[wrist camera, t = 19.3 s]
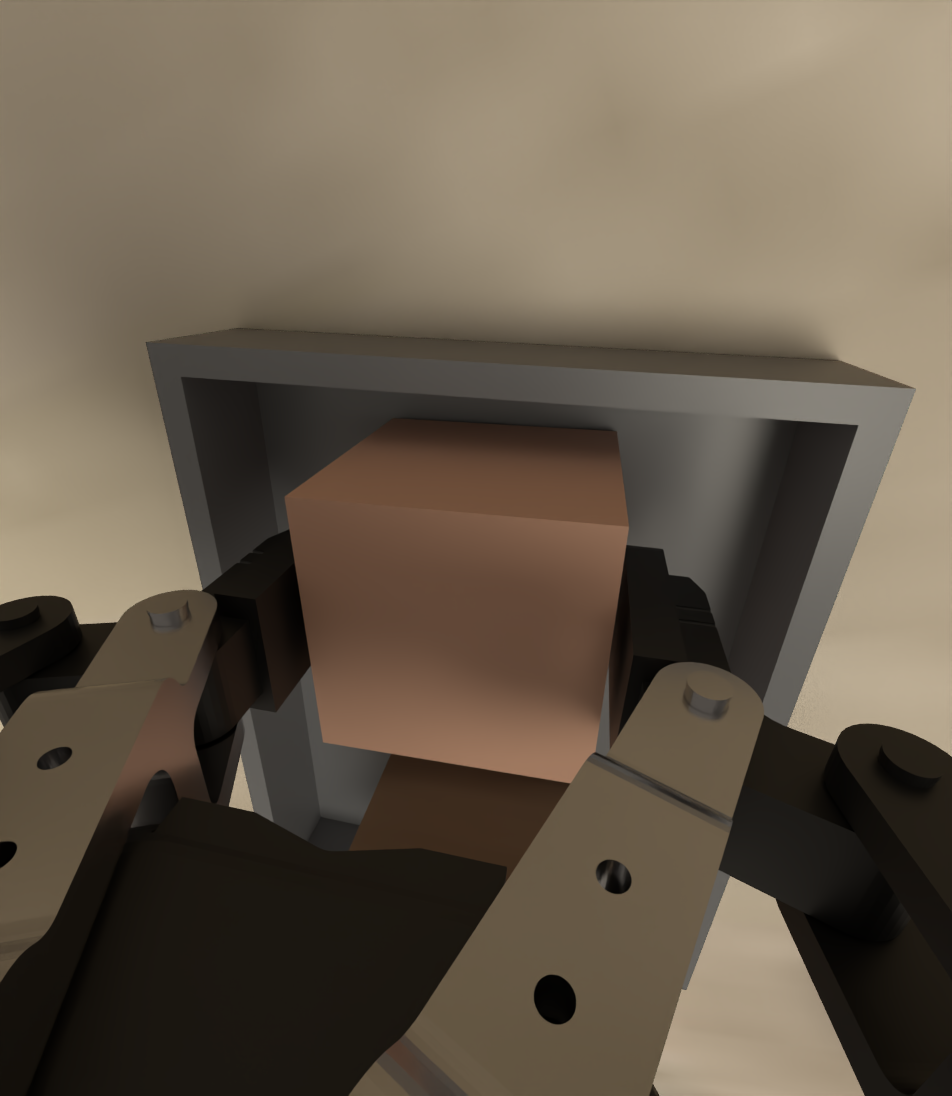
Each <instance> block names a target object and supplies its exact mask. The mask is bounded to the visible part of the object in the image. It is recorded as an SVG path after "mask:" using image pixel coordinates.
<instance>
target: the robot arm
mask: <svg viewBox="0 0 952 1096" xmlns="http://www.w3.org/2000/svg"><path fill="white" fill-rule="evenodd" d="M310 666H311V662H310V656H309V650H308V643H307V637H306V631H305V624H304V618H303V612H302V605H301V599H300V593H299V586H298V580H297V574H296V567H295V561H294V555H293V548H292V542H291V535H290V529H288V530H286V531H284V532H281V533H279V534H277V535H274V536H272V537H269V538H267V539H266V540H265V541H264V542H262V543H261V544H260V545H259V546H257V547H256V548H255V549H254V550H253V552H252V553H249V554H247V555H246V556H245V557H243V558H242V559H241V560H240V563H236V564H235V565H233V566H232V567H231V568H230V569H228V570H227V571H226V572H225V573H223V574H222V575H221V576H220V577H218V578H217V579H216V580H215V581H213V582H212V583H211V584H209V585H208V586H207V587H206V588H204V589H203V590H202V591H197V590H178V591H171V592H165V593H162V594H158V595H155V596H152V597H149V598H147V599H144V600H142V601H140V602H138V603H137V604H135V605H133V606H132V607H130V608H129V609H128V610H127V611H126V612H125V613H124V614H123V615H122V616H121V618H120V619H119V621H118V622H115V623H97V624H79V623H78V620H77V617H76V614H75V612H74V609H73V606H72V604H71V602H70V601H69V600H67V599H65V598H62V597H58V596H35V597H28V598H23V599H18V600H14V601H11V602H7V603H4V604H1V605H0V720H1V722H2V724H3V726H4V728H3V729H2V731H1V732H0V1096H659V1094H658V1092H657V1090H656V1088H655V1087H654V1085H653V1081H654V1078H655V1075H656V1072H657V1068H658V1065H659V1062H660V1058H661V1055H662V1052H663V1049H664V1045H665V1042H666V1039H667V1036H668V1032H669V1029H670V1026H671V1023H672V1019H673V1016H674V1013H675V1010H676V1006H677V1003H678V1000H679V997H680V993H681V990H682V987H683V983H684V980H685V977H686V974H687V970H688V967H689V964H690V961H691V957H692V954H693V951H694V948H695V944H696V941H697V938H698V935H699V931H700V928H701V925H702V922H703V918H704V915H705V912H706V908H707V905H708V902H709V899H710V895H711V892H712V889H713V886H714V882H715V879H716V876H717V873H718V870H720V871H722V872H724V873H726V874H728V875H730V876H732V877H734V878H736V879H738V880H740V881H742V882H744V883H746V884H748V885H750V886H752V887H754V888H756V889H758V890H760V891H762V892H764V893H766V894H768V895H770V896H772V897H774V898H776V901H777V904H778V907H779V909H780V911H781V914H782V916H783V918H784V920H785V922H786V924H787V927H788V929H789V931H790V933H791V935H792V938H793V940H794V942H795V944H796V946H797V948H798V951H799V953H800V955H801V957H802V959H803V962H804V964H805V966H806V968H807V970H808V973H809V975H810V977H811V979H812V981H813V983H814V986H815V988H816V990H817V992H818V994H819V997H820V999H821V1001H822V1003H823V1005H824V1007H825V1010H826V1012H827V1014H828V1016H829V1018H830V1021H831V1023H832V1025H833V1027H834V1029H835V1032H836V1034H837V1036H838V1038H839V1040H840V1042H841V1045H842V1047H843V1049H844V1051H845V1053H846V1056H847V1058H848V1060H849V1062H850V1064H851V1066H852V1069H853V1071H854V1073H855V1075H856V1077H857V1080H858V1082H859V1084H860V1086H861V1088H862V1091H863V1093H864V1095H865V1096H952V757H951V756H950V755H949V754H947V753H946V752H944V751H943V750H941V749H940V748H938V747H937V746H935V745H933V744H931V743H930V742H928V741H926V740H924V739H922V738H920V737H918V736H916V735H913V734H911V733H908V732H905V731H903V730H900V729H896V728H893V727H889V726H884V725H878V724H857V725H852V726H850V727H848V728H846V729H845V730H843V731H842V732H841V734H840V735H839V737H838V739H837V741H836V744H835V745H834V744H832V743H829V742H826V741H823V740H821V739H818V738H815V737H813V736H810V735H807V734H804V733H802V732H799V731H796V730H794V729H791V728H789V727H786V726H784V725H782V724H780V723H778V722H776V721H774V720H772V719H770V718H769V717H767V716H765V715H764V707H763V704H762V701H761V699H760V698H759V696H758V695H757V693H756V692H755V691H754V690H753V689H752V688H751V687H750V686H749V685H748V684H747V683H746V682H744V681H743V680H742V679H740V678H739V677H737V676H735V675H733V674H732V673H731V671H730V668H729V665H728V661H727V658H726V655H725V652H724V649H723V646H722V643H721V640H720V636H719V633H718V630H717V627H715V621H714V618H713V615H712V613H711V608H710V605H709V602H708V599H707V596H706V593H705V592H704V591H703V590H702V589H701V588H700V587H699V586H698V585H697V584H696V583H695V582H694V581H693V580H692V579H691V578H690V577H684V576H676V575H669V573H668V568H667V564H666V559H665V555H664V550H663V549H660V548H651V547H642V546H633V545H626V550H625V557H624V564H623V571H622V577H621V584H620V591H619V597H618V604H617V611H616V617H615V624H614V631H613V637H612V644H611V651H610V657H609V664H608V666H609V735H610V750H609V752H608V753H607V755H606V756H603V755H601V754H599V753H597V752H594V753H592V754H591V755H590V756H589V757H588V758H587V760H586V761H585V762H584V764H583V765H582V767H581V768H580V770H579V771H578V773H577V774H576V776H575V777H574V779H573V780H572V782H571V784H570V785H569V787H568V788H567V790H566V791H565V793H564V794H563V796H562V797H561V799H560V800H559V802H558V803H557V805H556V806H555V808H554V810H553V811H552V813H551V814H550V816H549V817H548V819H547V820H546V822H545V823H544V825H543V826H542V828H541V829H540V831H539V832H538V834H537V836H536V837H535V839H534V840H533V842H532V843H531V845H530V846H529V848H528V849H527V851H526V852H525V854H524V855H523V857H522V858H521V860H520V862H519V863H518V865H517V866H516V868H515V869H514V871H513V872H512V874H511V875H510V877H509V878H508V880H507V881H506V874H507V867H506V866H501V865H497V864H492V863H487V862H483V861H478V860H474V859H469V858H464V857H460V856H455V855H450V854H446V853H441V852H436V851H432V850H427V849H423V848H411V849H384V850H356V851H327V850H323V849H321V848H318V847H317V846H315V845H313V844H311V843H309V842H308V841H306V840H304V839H302V838H300V837H299V836H297V835H295V834H293V833H292V832H290V831H288V830H286V829H284V828H283V827H281V826H279V825H277V824H275V823H274V822H272V821H270V820H268V819H267V818H265V817H263V816H261V815H259V814H258V813H256V812H251V811H246V810H242V809H237V808H232V807H229V802H230V798H231V793H232V789H233V785H234V780H235V776H236V771H237V767H238V762H239V758H240V754H241V749H242V745H243V740H244V736H245V728H244V723H243V719H242V717H243V716H244V714H245V713H246V712H247V711H248V709H249V708H253V709H259V710H264V711H270V712H275V713H276V712H277V711H278V709H279V708H280V707H281V705H282V704H283V703H284V701H285V700H286V699H287V697H288V696H289V694H290V693H291V692H292V690H293V689H294V688H295V686H296V685H297V684H298V682H299V681H300V680H301V678H302V677H303V676H304V674H305V673H306V672H307V670H308V669H309V667H310Z"/></svg>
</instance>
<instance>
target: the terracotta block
mask: <svg viewBox="0 0 952 1096" xmlns="http://www.w3.org/2000/svg"><path fill="white" fill-rule="evenodd" d="M285 504H286V510H287V516H288V523H289V529H290V535H291V542H292V548H293V555H294V561H295V567H296V574H297V580H298V586H299V593H300V599H301V605H302V612H303V618H304V624H305V631H306V637H307V643H308V650H309V656H310V662H311V669H312V675H313V682H314V688H315V694H316V701H317V707H318V713H319V720H320V726H321V732H322V739H323V742H324V743H330V744H336V745H342V746H348V747H354V748H360V749H366V750H372V751H378V752H384V753H390V754H396V755H402V756H408V757H414V758H421V759H427V760H433V761H439V762H445V763H451V764H457V765H463V766H469V767H475V768H481V769H487V770H493V771H499V772H505V773H511V774H517V775H523V776H529V777H535V778H541V779H547V780H553V781H559V782H565V783H571V782H572V780H573V779H574V777H575V776H576V774H577V773H578V771H579V770H580V768H581V767H582V765H583V764H584V762H585V761H586V760H587V758H588V757H589V756H590V755H591V754H592V753H594V752H595V751H596V744H597V738H598V731H599V724H600V717H601V711H602V704H603V697H604V691H605V684H606V677H607V671H608V664H609V657H610V651H611V644H612V637H613V631H614V624H615V617H616V611H617V604H618V597H619V591H620V584H621V577H622V571H623V564H624V557H625V550H626V544H627V537H628V530H629V523H628V515H627V507H626V499H625V491H624V483H623V475H622V467H621V459H620V452H619V444H618V436H617V431H603V430H586V429H569V428H552V427H535V426H518V425H501V424H484V423H467V422H450V421H433V420H416V419H399V418H393V419H391V420H390V421H388V422H387V423H386V424H384V425H383V426H382V427H380V428H379V429H377V430H376V431H375V432H373V433H372V434H371V435H369V436H368V437H366V438H365V439H364V440H362V441H361V442H359V443H358V444H357V445H355V446H354V447H353V448H351V449H350V450H348V451H347V452H346V453H344V454H343V455H341V456H340V457H339V458H337V459H336V460H335V461H333V462H332V463H330V464H329V465H328V466H326V467H325V468H324V469H322V470H321V471H319V472H318V473H317V474H315V475H314V476H312V477H311V478H310V479H308V480H307V481H306V482H304V483H303V484H301V485H300V486H299V487H297V488H296V489H295V490H293V491H292V492H290V493H289V494H288V495H286V496H285Z"/></svg>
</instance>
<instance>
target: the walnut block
mask: <svg viewBox="0 0 952 1096" xmlns="http://www.w3.org/2000/svg"><path fill="white" fill-rule="evenodd" d="M570 784H571V783H565V782H559V781H553V780H547V779H541V778H535V777H529V776H523V775H517V774H511V773H505V772H499V771H493V770H487V769H481V768H475V767H469V766H463V765H457V764H451V763H445V762H439V761H433V760H427V759H421V758H414V757H408V756H402V755H396V754H391V755H390V758H389V760H388V762H387V764H386V767H385V769H384V771H383V773H382V776H381V778H380V780H379V783H378V785H377V787H376V789H375V792H374V794H373V796H372V799H371V801H370V803H369V805H368V808H367V810H366V812H365V814H364V817H363V819H362V821H361V824H360V826H359V828H358V830H357V833H356V835H355V837H354V840H353V842H352V844H351V846H350V849H349V851H356V850H384V849H411V848H423V849H427V850H432V851H436V852H441V853H446V854H450V855H455V856H460V857H464V858H469V859H474V860H478V861H483V862H487V863H492V864H497V865H501V866H506V867H507V874H506V881H507V880H508V878H509V877H510V875H511V874H512V872H513V871H514V869H515V868H516V866H517V865H518V863H519V862H520V860H521V858H522V857H523V855H524V854H525V852H526V851H527V849H528V848H529V846H530V845H531V843H532V842H533V840H534V839H535V837H536V836H537V834H538V832H539V831H540V829H541V828H542V826H543V825H544V823H545V822H546V820H547V819H548V817H549V816H550V814H551V813H552V811H553V810H554V808H555V806H556V805H557V803H558V802H559V800H560V799H561V797H562V796H563V794H564V793H565V791H566V790H567V788H568V787H569V785H570Z"/></svg>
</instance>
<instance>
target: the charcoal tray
mask: <svg viewBox="0 0 952 1096" xmlns="http://www.w3.org/2000/svg"><path fill="white" fill-rule="evenodd" d="M146 345H147V349H148V354H149V358H150V362H151V367H152V371H153V375H154V380H155V384H156V388H157V393H158V397H159V401H160V406H161V410H162V415H163V419H164V423H165V428H166V432H167V436H168V441H169V445H170V449H171V454H172V458H173V462H174V467H175V471H176V475H177V480H178V484H179V488H180V493H181V497H182V501H183V506H184V510H185V514H186V519H187V523H188V527H189V532H190V536H191V540H192V545H193V549H194V553H195V558H196V562H197V566H198V571H199V575H200V580H201V584H202V588H203V589H204V588H206V587H207V586H208V585H209V584H211V583H212V582H213V581H215V580H216V579H217V578H218V577H220V576H221V575H222V574H223V573H225V572H226V571H227V570H228V569H230V568H231V567H232V566H233V565H235V564H236V563H240V560H241V559H242V558H243V557H245V556H246V555H247V554H249V553H252V552H253V550H254V549H255V548H256V547H257V546H259V545H260V544H261V543H262V542H264V541H265V540H266V539H267V538H269V537H272V536H274V535H277V534H279V533H281V532H284V531H286V530H288V529H289V523H288V516H287V510H286V504H285V496H286V495H288V494H289V493H290V492H292V491H293V490H295V489H296V488H297V487H299V486H300V485H301V484H303V483H304V482H306V481H307V480H308V479H310V478H311V477H312V476H314V475H315V474H317V473H318V472H319V471H321V470H322V469H324V468H325V467H326V466H328V465H329V464H330V463H332V462H333V461H335V460H336V459H337V458H339V457H340V456H341V455H343V454H344V453H346V452H347V451H348V450H350V449H351V448H353V447H354V446H355V445H357V444H358V443H359V442H361V441H362V440H364V439H365V438H366V437H368V436H369V435H371V434H372V433H373V432H375V431H376V430H377V429H379V428H380V427H382V426H383V425H384V424H386V423H387V422H388V421H390V420H391V419H393V418H399V419H416V420H433V421H450V422H467V423H484V424H501V425H518V426H535V427H552V428H569V429H586V430H603V431H617V436H618V444H619V452H620V459H621V467H622V475H623V483H624V491H625V499H626V507H627V515H628V523H629V530H628V537H627V544H626V545H633V546H642V547H651V548H660V549H663V550H664V555H665V559H666V564H667V568H668V573H669V575H676V576H684V577H690V578H691V579H692V580H693V581H694V582H695V583H696V584H697V585H698V586H699V587H700V588H701V589H702V590H703V591H704V592H705V593H706V596H707V599H708V602H709V605H710V608H711V613H712V615H713V618H714V621H715V627H717V630H718V633H719V636H720V640H721V643H722V646H723V649H724V652H725V655H726V658H727V661H728V665H729V668H730V671H731V673H732V674H733V675H735V676H737V677H739V678H740V679H742V680H743V681H744V682H746V683H747V684H748V685H749V686H750V687H751V688H752V689H753V690H754V691H755V692H756V693H757V695H758V696H759V698H760V699H761V701H762V704H763V707H764V715H765V716H767V717H769V718H770V719H772V720H774V721H776V722H778V723H780V724H782V725H784V726H786V727H787V725H788V722H789V720H790V717H791V715H792V712H793V709H794V707H795V704H796V702H797V699H798V696H799V694H800V691H801V688H802V686H803V683H804V681H805V678H806V675H807V673H808V670H809V668H810V665H811V662H812V660H813V657H814V654H815V652H816V649H817V647H818V644H819V641H820V639H821V636H822V634H823V631H824V628H825V626H826V623H827V620H828V618H829V615H830V613H831V610H832V607H833V605H834V602H835V600H836V597H837V594H838V592H839V589H840V586H841V584H842V581H843V579H844V576H845V573H846V571H847V568H848V566H849V563H850V560H851V558H852V555H853V552H854V550H855V547H856V545H857V542H858V539H859V537H860V534H861V532H862V529H863V526H864V524H865V521H866V518H867V516H868V513H869V511H870V508H871V505H872V503H873V500H874V498H875V495H876V492H877V490H878V487H879V484H880V482H881V479H882V477H883V474H884V471H885V469H886V466H887V464H888V461H889V458H890V456H891V453H892V450H893V448H894V445H895V443H896V440H897V437H898V435H899V432H900V430H901V427H902V424H903V422H904V419H905V416H906V414H907V411H908V409H909V406H910V403H911V401H912V398H913V396H914V393H915V390H916V389H915V388H913V387H910V386H907V385H904V384H902V383H899V382H896V381H894V380H891V379H888V378H886V377H883V376H880V375H878V374H875V373H872V372H869V371H867V370H864V369H861V368H859V367H856V366H853V365H851V364H848V363H845V362H843V361H836V360H817V359H799V358H780V357H762V356H743V355H725V354H706V353H688V352H669V351H651V350H632V349H613V348H595V347H576V346H558V345H539V344H521V343H502V342H484V341H465V340H447V339H428V338H410V337H391V336H373V335H354V334H335V333H317V332H298V331H280V330H261V329H243V328H235V329H229V330H222V331H216V332H209V333H203V334H196V335H190V336H183V337H177V338H170V339H163V340H157V341H150V342H146ZM242 719H243V723H244V728H245V736H244V740H243V745H242V749H241V758H242V762H243V766H244V771H245V775H246V779H247V784H248V788H249V792H250V797H251V801H252V805H253V810H254V812H256V813H258V814H259V815H261V816H263V817H265V818H267V819H268V820H270V821H272V822H274V823H275V824H277V825H279V826H281V827H283V828H284V829H286V830H288V831H290V832H292V833H293V834H295V835H297V836H299V837H300V838H302V839H304V840H306V841H308V842H309V843H311V844H313V845H315V846H317V847H318V848H321V849H323V850H327V851H349V849H350V846H351V844H352V842H353V840H354V837H355V835H356V833H357V830H358V828H359V826H360V824H361V821H362V819H363V817H364V814H365V812H366V810H367V808H368V805H369V803H370V801H371V799H372V796H373V794H374V792H375V789H376V787H377V785H378V783H379V780H380V778H381V776H382V773H383V771H384V769H385V767H386V764H387V762H388V760H389V758H390V755H391V754H390V753H384V752H378V751H372V750H366V749H360V748H354V747H348V746H342V745H336V744H330V743H324V742H323V739H322V732H321V726H320V720H319V713H318V707H317V701H316V694H315V688H314V682H313V675H312V669H311V666H310V667H309V669H308V670H307V672H306V673H305V674H304V676H303V677H302V678H301V680H300V681H299V682H298V684H297V685H296V686H295V688H294V689H293V690H292V692H291V693H290V694H289V696H288V697H287V699H286V700H285V701H284V703H283V704H282V705H281V707H280V708H279V709H278V711H277V712H276V713H275V712H270V711H264V710H259V709H253V708H249V709H248V711H247V712H246V713H245V714H244V716H243V717H242ZM609 750H610V735H609V666H608V671H607V677H606V684H605V691H604V697H603V704H602V711H601V717H600V724H599V731H598V738H597V744H596V751H595V752H597V753H599V754H601V755H603V756H606V755H607V753H608V752H609ZM729 877H730V875H728V874H726V873H724V872H722V871H720V870H718V873H717V876H716V879H715V882H714V886H713V889H712V892H711V895H710V899H709V902H708V905H707V908H706V912H705V915H704V918H703V922H702V925H701V928H700V931H699V935H698V938H697V941H696V944H695V948H694V951H693V954H692V957H691V961H690V964H689V967H688V970H687V974H686V977H685V980H684V983H683V987H682V989H684V990H686V989H687V987H688V984H689V981H690V979H691V976H692V974H693V971H694V968H695V966H696V963H697V961H698V958H699V955H700V953H701V950H702V947H703V945H704V942H705V940H706V937H707V934H708V932H709V929H710V927H711V924H712V921H713V919H714V916H715V913H716V911H717V908H718V906H719V903H720V900H721V898H722V895H723V893H724V890H725V887H726V885H727V882H728V879H729Z"/></svg>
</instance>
